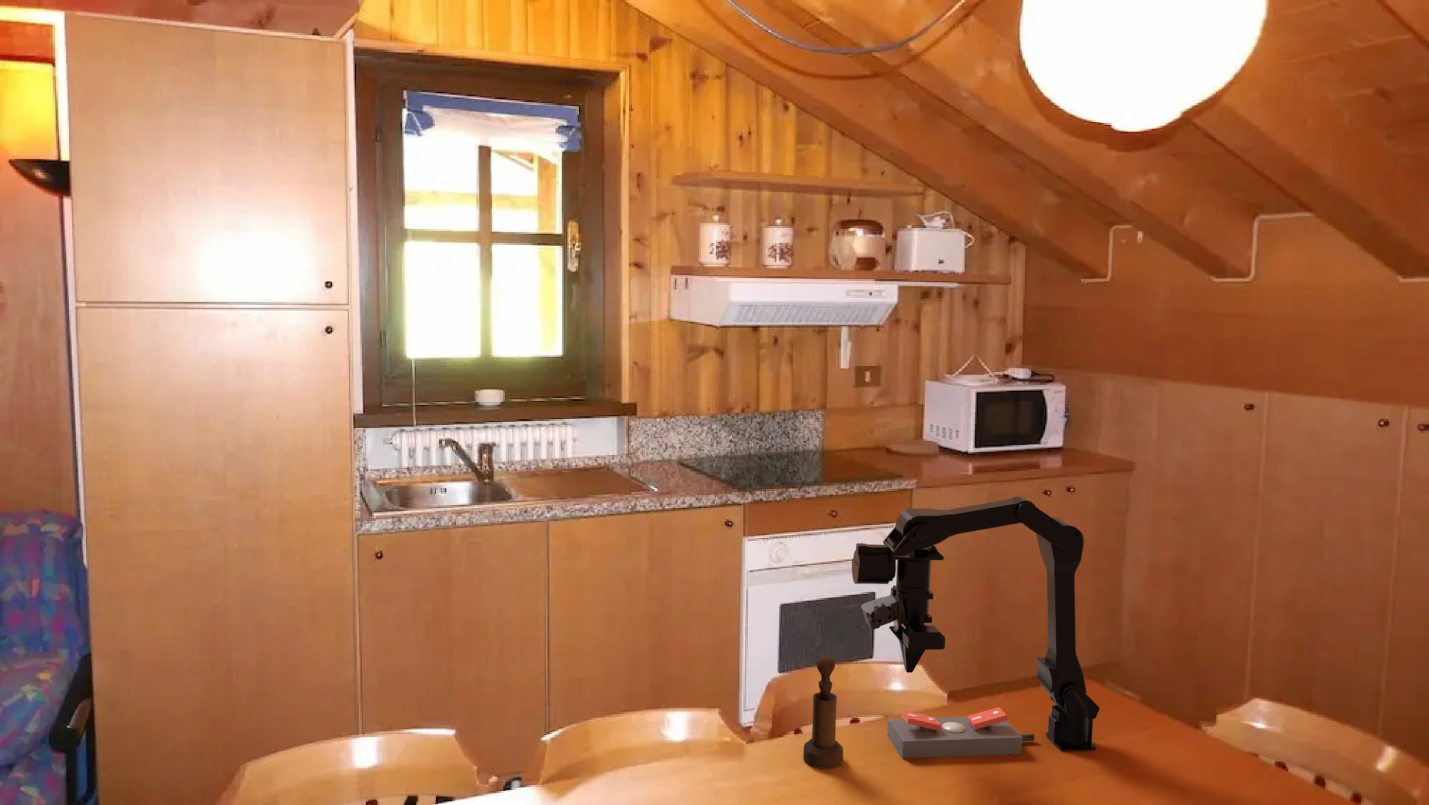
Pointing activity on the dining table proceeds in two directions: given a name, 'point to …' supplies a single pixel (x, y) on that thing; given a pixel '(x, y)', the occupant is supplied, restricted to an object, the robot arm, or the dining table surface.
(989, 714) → the switch
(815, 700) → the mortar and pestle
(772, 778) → the dining table surface
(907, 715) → the switch
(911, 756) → the switch panel
